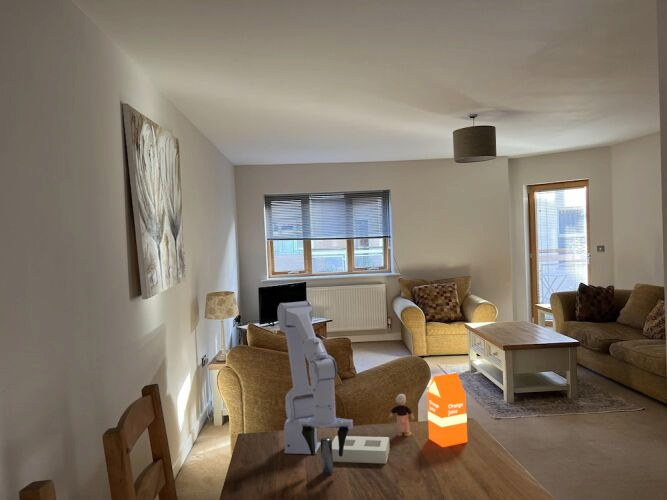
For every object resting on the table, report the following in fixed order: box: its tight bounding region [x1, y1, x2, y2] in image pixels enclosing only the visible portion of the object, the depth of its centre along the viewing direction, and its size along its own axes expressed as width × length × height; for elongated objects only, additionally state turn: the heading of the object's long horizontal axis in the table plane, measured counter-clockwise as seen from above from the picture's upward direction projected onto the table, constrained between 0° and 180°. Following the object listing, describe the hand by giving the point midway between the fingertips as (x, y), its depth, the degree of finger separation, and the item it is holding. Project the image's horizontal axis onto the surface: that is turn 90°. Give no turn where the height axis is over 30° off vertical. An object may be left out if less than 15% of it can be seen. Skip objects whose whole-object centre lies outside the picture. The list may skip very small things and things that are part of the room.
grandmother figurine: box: [389, 393, 415, 437], centre depth 165 cm, size 8×4×13 cm, turn 84°
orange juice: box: [426, 372, 468, 448], centre depth 159 cm, size 8×9×20 cm
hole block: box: [332, 435, 390, 464], centre depth 151 cm, size 16×10×4 cm, turn 79°
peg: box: [320, 436, 334, 476], centre depth 141 cm, size 3×3×9 cm
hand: (327, 454), depth 140 cm, fingers open, 7 cm apart
